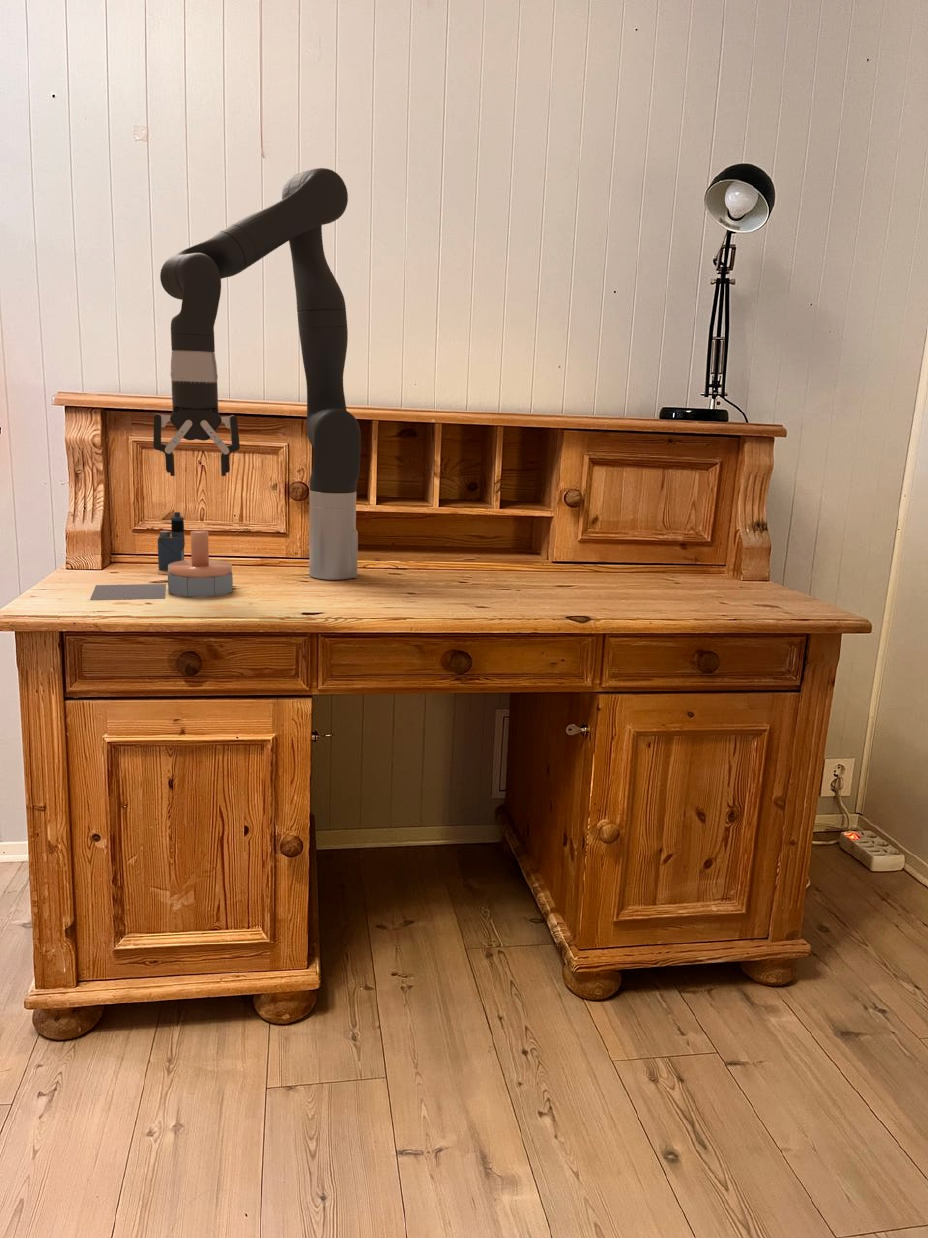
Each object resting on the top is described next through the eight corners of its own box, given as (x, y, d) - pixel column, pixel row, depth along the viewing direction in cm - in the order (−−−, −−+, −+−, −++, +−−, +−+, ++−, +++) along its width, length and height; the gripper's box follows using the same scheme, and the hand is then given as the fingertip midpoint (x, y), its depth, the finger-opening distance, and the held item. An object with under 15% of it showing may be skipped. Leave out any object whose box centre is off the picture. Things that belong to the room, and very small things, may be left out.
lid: (230, 565, 167) (229, 527, 165) (233, 577, 157) (233, 536, 155) (168, 566, 164) (167, 527, 162) (167, 578, 154) (166, 536, 152)
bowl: (230, 586, 168) (230, 565, 167) (233, 599, 158) (233, 577, 157) (168, 587, 165) (168, 566, 164) (168, 601, 154) (167, 578, 154)
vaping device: (183, 574, 177) (181, 513, 174) (156, 572, 177) (154, 512, 174) (187, 571, 179) (185, 511, 177) (161, 570, 179) (159, 510, 177)
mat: (166, 587, 165) (165, 583, 165) (165, 601, 154) (165, 598, 154) (96, 588, 161) (95, 585, 161) (89, 603, 150) (89, 600, 150)
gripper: (236, 381, 158) (238, 474, 162) (150, 378, 153) (155, 473, 157) (239, 381, 151) (241, 478, 155) (149, 377, 146) (154, 477, 150)
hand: (198, 475), depth 156 cm, fingers open, 8 cm apart
